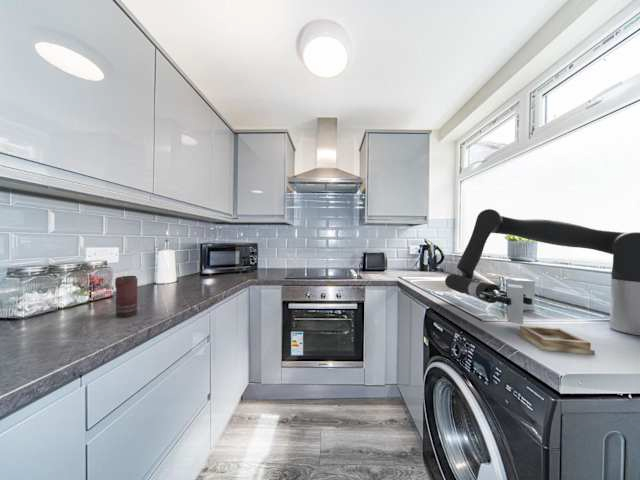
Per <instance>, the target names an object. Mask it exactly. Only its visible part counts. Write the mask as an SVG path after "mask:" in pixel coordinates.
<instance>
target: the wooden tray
mask: <svg viewBox="0 0 640 480" xmlns="http://www.w3.org/2000/svg"><path fill="white" fill-rule="evenodd" d="M516 334H517V335H518V336H520V337H521V338H523V339H525V340H526V341H528V342H529V343H531V344H533V345H534V346H535V347H538V349H541V350H542V351H548V352H549V351H551V352H561V353H572V354H583V355H585V354H586V355H595V354H596V353H595V352H596V351H595V349H593V348H591V345H592V343H591V342H590V341H587V340H585V339H583V338H581V337H578V336H576V335H574V334H572V333H570V332H568V331H566V330H564V329H562V328H557V327H544V326H543V327H542V326H531V325H519V330H516Z"/></svg>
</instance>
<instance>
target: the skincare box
mask: <svg viewBox="0 0 640 480" xmlns="http://www.w3.org/2000/svg"><path fill="white" fill-rule="evenodd" d="M506 291H507V298H510V299H511V305H506V318H507V323H514V324H520V325H523V324H524V310H523V287H522V285H513V284H506Z"/></svg>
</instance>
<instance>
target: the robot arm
mask: <svg viewBox="0 0 640 480" xmlns="http://www.w3.org/2000/svg"><path fill="white" fill-rule="evenodd" d="M491 234H500V235H507V236H508V235H510V236H514V237H518V238H523V239H526V240H530V241H534V242H539V243H544V244H548V245H554V246H558V247H559V246H561V247H567V248H581V249H589V250H593V251H598V252H602V253H606V254H610V255H612V259H613V260H612V269H611V275H610V276H611V278H610V279H611V281H610V305H609V306H610V309H609V313H610V314H609V328H610V329H612V330H614V331H617V332H621V333H624V334H629V335H634V336H640V232H638V231H637V232H635V231H634V232H633V231H632V232H619V231H610V230H609V231H608V230H602V229H595V228H590V227H587V226H582V225H579V224H574V223H572V222H571V223H570V222H565V221H559V220H553V219H544V218H532V219H531V218H529V219H526V218H525V219H522V218H521V219H520V218H512V217H508V216H503V215H501V214H500V213H499V211H497V210H496V209H493V208H488V209H484V210H482V211H480V212H479V213H478V215H477V217H476V220H475V224H474V227H473V230H472V232H471V236H470V239H469V241H468V243H467V245H466V247H465V250H464V252H462V255H461V257H460V259H459V261H458V262H457V265H456V268H457V269H458V271H460V272H461V275H459V274H456V273H450V274H449V275H447V276H446V278H445V279H444V280H445V281H444V283H445V285H446V287H447V288H448V289H451V290H453V291H454V292H458V293H459V294H465V295H467V296H470V297H472V298H475V299H477V300H480V301H483V302H485V303H488V304H496V303H497V304H504V305H506V306H507V305H511V299H510V298H507V290H505V289H501V287H500V286H499V285H498V284H496V283H493V282H492V283H491V282H489V281H488V282H487V281H484V280H477V279H474V278H473V277H474V274H475V273H474V272H475V270H476V268H477V266H478V264H479V263H480V260H481V257H482V254H483V252H484V248H485V246H486V243H487V240H488V238H489V236H490V235H491ZM523 303H525V304H528V305H532V299H531V298H529V297H526V295H525V294H523Z"/></svg>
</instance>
